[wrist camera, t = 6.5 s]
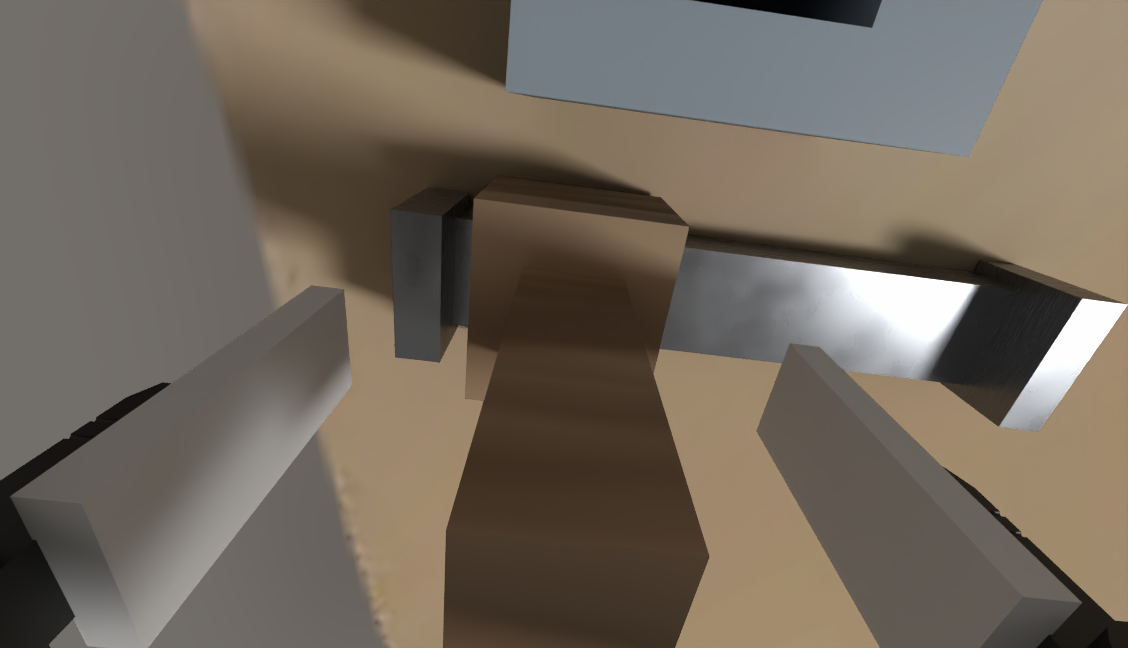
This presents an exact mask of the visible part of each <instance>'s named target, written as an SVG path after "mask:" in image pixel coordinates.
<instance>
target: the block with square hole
mask: <svg viewBox="0 0 1128 648" xmlns="http://www.w3.org/2000/svg"><path fill="white" fill-rule="evenodd" d="M1042 1H1043V0H772V1H770V2H768V3H766V4H764V5H762V6H761V10H760V11H758V10H751V9H744V8H738V7H731V6H725V5H718V4H712V3H705V2H699V1H692V0H511V11H510V26H509V41H508V57H507V72H506V87H505V91H506V92H511V93H516V94H521V95H526V96H531V97H537V98H545V99H552V100H559V101H566V102H573V103H580V104H587V105H594V106H601V107H608V108H615V109H623V110H630V111H637V112H644V113H651V114H658V115H665V116H672V117H679V118H686V119H693V120H700V121H708V122H715V123H722V124H729V125H736V126H743V127H750V128H757V129H764V130H771V131H778V132H786V133H793V134H800V135H807V136H814V137H821V138H829V139H837V140H844V141H852V142H859V143H867V144H875V145H882V146H890V147H897V148H905V149H912V150H920V151H928V152H935V153H943V154H950V155H958V156H966V157H969V155H970V153H971V151H972V149H973V147H974V144H975V142H976V140H977V138H978V136H979V134H980V132H981V130H982V128H983V125H984V123H985V121H986V119H987V117H988V115H989V113H990V111H991V109H992V106H993V104H994V102H995V100H996V98H997V96H998V94H999V92H1000V90H1001V87H1002V85H1003V83H1004V81H1005V79H1006V77H1007V75H1008V73H1009V71H1010V68H1011V66H1012V64H1013V62H1014V60H1015V58H1016V56H1017V54H1018V52H1019V49H1020V47H1021V45H1022V43H1023V41H1024V39H1025V37H1026V35H1027V33H1028V30H1029V28H1030V26H1031V24H1032V22H1033V20H1034V18H1035V16H1036V14H1037V11H1038V9H1039V7H1040V5H1041V3H1042Z"/></svg>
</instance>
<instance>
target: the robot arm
mask: <svg viewBox="0 0 1128 648" xmlns="http://www.w3.org/2000/svg"><path fill="white" fill-rule="evenodd" d="M351 386H352V383H351V370H350V358H349V346H348V334H347V321H346V309H345V297H344V289H337V288H329V287H320V286H310V287H309V288H307V289H306V290H304V291H303V292H302V293H300V294H299V295H297V296H296V297H294V298H293V299H291V300H290V301H289V302H287V303H286V304H284V305H283V306H281V307H280V308H279V309H277V310H276V311H274V312H273V313H272V314H270V315H269V316H267V317H266V318H264V319H263V320H262V321H260V322H259V323H257V324H256V325H255V326H253V327H251V328H250V329H249V330H247V331H246V332H244V333H243V334H241V335H240V336H239V337H237V338H236V339H234V340H233V341H231V342H230V343H229V344H227V345H226V346H224V347H223V348H222V349H220V350H219V351H217V352H216V353H214V354H213V355H212V356H210V357H209V358H207V359H206V360H204V361H203V362H201V363H200V364H199V365H197V366H196V367H194V368H193V369H192V370H190V371H189V372H187V373H186V374H184V375H183V376H181V377H180V378H179V379H177V380H176V381H174V382H173V383H160V384H158V385H156V386H153V387H151V388H148V389H146V390H143V391H141V392H139V393H136V394H134V395H131V396H129V397H127V398H125V399H123V400H122V401H120V402H119V403H117V404H116V405H114V406H113V407H111V408H110V409H108V410H107V411H105V412H104V413H102V414H101V415H99V416H98V417H97V418H96V421H95V422H92V421H90V422H88V423H87V424H85V425H84V426H82V427H81V428H79V429H78V430H77V431H75V432H73V433H72V434H71V436H70V438H69V439H63V440H61V441H60V442H58V443H57V444H55V445H54V446H52V447H51V448H49V449H47V450H46V451H44V452H43V453H41V454H40V455H38V456H37V457H35V458H34V459H32V460H31V461H29V462H28V463H26V464H25V465H23V466H22V467H20V468H19V469H17V470H16V471H14V472H13V473H11V474H10V475H8V476H7V477H5V478H4V479H2V480H1V481H0V648H50V646H49V644H50V643H51V641H52V640H53V639H54V638H55V637H56V636H57V635H58V634H59V633H60V632H61V631H62V630H63V629H64V628H65V627H66V626H67V625H68V624H69V623H70V622H71V621H72V620H74V621H75V623H76V625H77V627H78V629H79V631H80V633H81V635H82V637H83V639H84V641H85V643H86V645H87V646H92V647H104V648H148V647H149V646H150V644H151V643H152V642H153V640H154V639H155V638H156V637H157V635H158V634H159V633H160V632H161V630H162V629H163V628H164V626H165V625H166V624H167V623H168V621H169V620H170V619H171V617H172V616H173V615H174V613H175V612H176V611H177V610H178V608H179V607H180V606H181V604H182V603H183V602H184V601H185V599H186V598H187V597H188V595H189V594H190V593H191V592H192V590H193V589H194V588H195V586H196V585H197V584H198V582H199V581H200V580H201V579H202V578H203V576H204V575H205V574H206V572H207V571H208V570H209V569H210V567H211V566H212V565H213V563H214V562H215V561H216V559H217V558H218V557H219V556H220V554H221V553H222V552H223V550H224V549H225V548H226V547H227V545H228V544H229V543H230V541H231V540H232V539H233V538H234V536H235V535H236V534H237V532H238V531H239V530H240V529H241V527H242V526H243V525H244V523H245V522H246V521H247V520H248V518H249V517H250V516H251V514H252V513H253V512H254V511H255V509H256V508H257V507H258V505H259V504H260V503H261V502H262V500H263V499H264V498H265V496H266V495H267V494H268V493H269V491H270V490H271V489H272V487H273V486H274V485H275V484H276V482H277V481H278V480H279V478H280V477H281V476H282V475H283V473H284V472H285V471H286V469H287V468H288V467H289V465H290V464H291V463H292V462H293V460H294V459H295V458H296V456H297V455H298V454H299V453H300V451H301V450H302V449H303V447H304V446H305V445H306V444H307V442H308V441H309V440H310V438H311V437H312V436H313V435H314V433H315V432H316V431H317V430H318V428H319V427H320V426H321V424H322V423H323V422H324V421H325V419H326V418H327V417H328V415H329V414H330V413H331V412H332V410H333V409H334V408H335V406H336V405H337V404H338V403H339V401H340V400H341V399H342V397H343V396H344V395H345V394H346V392H347V391H348V390H349V388H350V387H351ZM757 433H758V434H759V436H760V438H761V440H762V441H763V443H764V445H765V447H766V448H767V450H768V452H769V454H770V455H771V457H772V459H773V461H774V462H775V464H776V466H777V468H778V469H779V471H780V473H781V475H782V477H783V478H784V480H785V482H786V484H787V485H788V487H789V489H790V491H791V492H792V494H793V496H794V498H795V499H796V501H797V503H798V505H799V506H800V508H801V510H802V512H803V513H804V515H805V517H806V519H807V520H808V522H809V524H810V526H811V527H812V529H813V531H814V533H815V534H816V536H817V538H818V540H819V541H820V543H821V545H822V547H823V548H824V550H825V552H826V554H827V555H828V557H829V559H830V561H831V562H832V564H833V566H834V568H835V569H836V571H837V573H838V575H839V576H840V578H841V580H842V582H843V583H844V585H845V587H846V589H847V590H848V592H849V594H850V596H851V597H852V599H853V601H854V603H855V605H856V606H857V608H858V610H859V612H860V613H861V615H862V617H863V619H864V620H865V622H866V624H867V626H868V627H869V629H870V631H871V633H872V634H873V636H874V638H875V640H876V641H877V643H878V645H879V647H880V648H1128V622H1123V621H1115V620H1114V619H1112V618H1111V617H1110V616H1109V615H1108V614H1107V613H1106V612H1105V611H1104V610H1103V609H1102V608H1101V607H1100V606H1099V605H1098V604H1097V603H1096V602H1095V601H1093V600H1092V599H1091V598H1090V597H1089V596H1088V595H1087V594H1086V593H1085V592H1084V591H1083V590H1082V589H1081V588H1080V587H1079V586H1078V585H1077V584H1076V583H1075V582H1073V581H1072V580H1071V579H1070V578H1069V577H1068V576H1067V575H1066V574H1065V573H1064V572H1063V571H1062V570H1061V569H1060V568H1059V567H1058V566H1057V565H1056V564H1054V563H1053V562H1052V561H1051V560H1050V559H1049V558H1048V557H1047V556H1046V555H1045V554H1044V553H1043V552H1042V551H1041V550H1040V549H1039V548H1038V547H1037V546H1035V545H1034V544H1033V543H1032V542H1031V541H1030V540H1029V539H1028V538H1027V537H1022V536H1021V531H1020V530H1019V529H1018V528H1016V527H1015V526H1014V525H1013V524H1012V523H1011V522H1010V521H1009V520H1008V519H1007V518H1006V517H1002V516H1000V511H999V510H998V509H996V508H995V507H994V506H993V505H992V504H991V503H990V502H989V501H988V500H987V499H986V498H985V497H984V496H983V495H982V494H981V493H980V492H979V491H977V490H976V489H975V488H974V487H972V486H971V485H970V484H968V483H967V482H965V481H964V480H962V479H961V478H959V477H958V476H956V475H955V474H953V473H952V472H950V471H949V470H947V469H946V468H944V467H942V466H941V465H940V464H939V463H938V462H937V461H936V460H935V459H934V458H933V457H932V456H931V455H930V454H929V453H928V452H927V451H926V450H925V449H924V448H923V447H922V446H921V445H920V444H919V443H918V442H917V441H916V440H914V439H913V438H912V437H911V436H910V435H909V434H908V433H907V432H906V431H905V430H904V429H903V428H902V427H901V426H900V425H899V424H898V423H897V422H896V421H895V420H894V419H893V418H892V417H891V416H890V415H889V414H888V413H887V412H886V411H885V410H884V409H883V408H882V407H881V406H880V405H879V404H878V403H876V402H875V401H874V400H873V399H872V398H871V397H870V396H869V395H868V394H867V393H866V392H865V391H864V390H863V389H862V388H861V387H860V386H859V385H858V384H857V383H856V382H855V381H854V380H853V379H852V378H851V377H850V376H849V375H848V374H847V373H846V372H845V371H844V370H843V369H842V368H841V367H839V366H838V365H837V364H836V363H835V362H834V361H833V360H832V359H831V358H830V357H829V356H828V355H827V354H826V353H825V352H824V351H823V350H822V349H821V348H820V347H816V346H808V345H800V344H791V343H790V344H789V347H788V349H787V352H786V355H785V357H784V360H783V363H782V365H781V368H780V370H779V373H778V376H777V378H776V381H775V384H774V386H773V389H772V392H771V394H770V397H769V399H768V402H767V405H766V407H765V410H764V413H763V415H762V418H761V421H760V423H759V426H758V428H757Z"/></svg>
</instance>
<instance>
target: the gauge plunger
mask: <svg viewBox="0 0 1128 648" xmlns="http://www.w3.org/2000/svg"><path fill="white" fill-rule="evenodd" d="M695 1H699V2H705V3H712V4H718V5H725V6H731V7H738V8H744V9H751V10H755V9H757V8H759V7H761V6H762V5H764V4H766V3H768V2H770V1H772V0H695Z"/></svg>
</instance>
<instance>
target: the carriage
mask: <svg viewBox="0 0 1128 648" xmlns="http://www.w3.org/2000/svg"><path fill="white" fill-rule="evenodd" d="M688 230H689V226H688V225H687V224H686V223H685V222H684V221H683V220H682V219H681V218H680V217H679V215H678V214H677V213H676V212H675V211H674V210H673V209H672V208H671V207H670V206H669V205H668V204H667V203H666V202H665V201H664V200H663V199H662V198H661V197H654V196H647V195H639V194H632V193H624V192H617V191H609V190H602V189H594V188H587V187H579V186H572V185H564V184H557V183H549V182H542V181H534V180H527V179H519V178H512V177H504V176H496V177H495V178H494V179H493V180H492V181H491V182H490V183H489V184H488V185H487V186H486V187H485V188H484V189H483V190H482V191H481V192H480V193H479V194H478V195H477V196H476V197H475V198H474V203H473V226H472V249H471V272H470V295H469V319H468V342H467V365H466V388H465V399H471V400H480V401H484V402H483V406H482V409H481V412H480V416H479V419H478V423H477V426H476V430H475V433H474V436H473V440H472V443H471V447H470V450H469V454H468V457H467V460H466V464H465V467H464V471H463V474H462V478H461V481H460V484H459V488H458V491H457V495H456V498H455V502H454V505H453V508H452V512H451V515H450V519H449V522H448V526H447V529H446V553H445V592H444V631H443V648H675V646H676V643H677V641H678V638H679V636H680V633H681V630H682V628H683V625H684V622H685V620H686V617H687V615H688V612H689V609H690V607H691V604H692V601H693V599H694V596H695V593H696V591H697V588H698V586H699V583H700V580H701V578H702V575H703V572H704V570H705V567H706V565H707V562H708V559H709V554H708V550H707V547H706V544H705V541H704V537H703V534H702V531H701V528H700V524H699V521H698V518H697V515H696V511H695V508H694V505H693V502H692V498H691V495H690V492H689V489H688V485H687V482H686V479H685V476H684V472H683V469H682V466H681V463H680V459H679V456H678V453H677V450H676V446H675V443H674V440H673V437H672V433H671V430H670V427H669V424H668V420H667V417H666V414H665V411H664V407H663V404H662V401H661V398H660V394H659V391H658V388H657V385H656V381H655V378H654V375H653V373H654V369H655V365H656V361H657V357H658V353H659V349H660V345H661V341H662V337H663V333H664V328H665V324H666V320H667V316H668V312H669V308H670V304H671V300H672V296H673V292H674V288H675V283H676V279H677V275H678V271H679V267H680V263H681V259H682V255H683V251H684V247H685V243H686V239H687V234H688Z"/></svg>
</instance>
